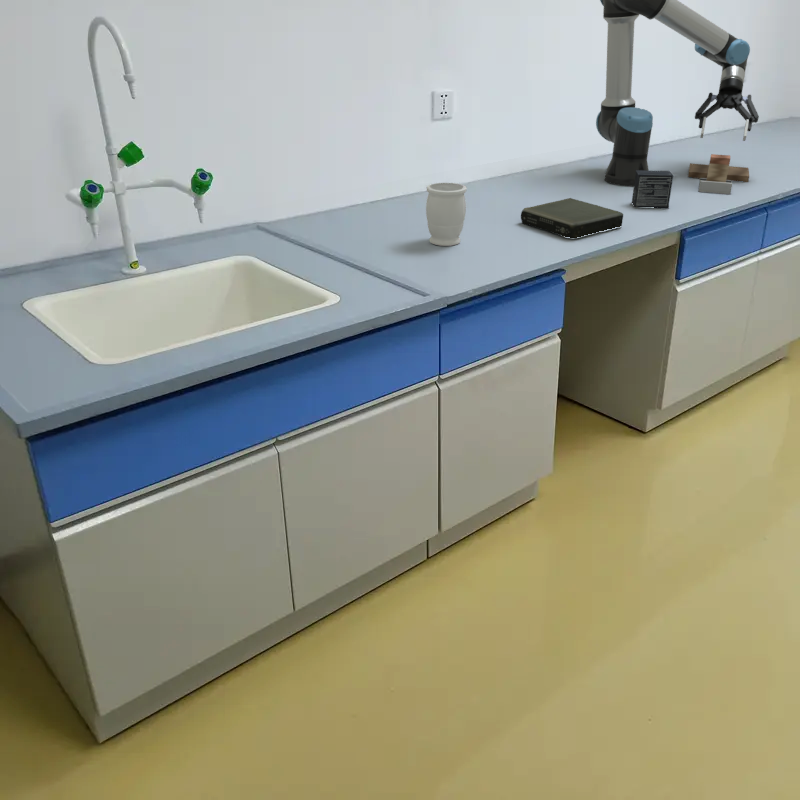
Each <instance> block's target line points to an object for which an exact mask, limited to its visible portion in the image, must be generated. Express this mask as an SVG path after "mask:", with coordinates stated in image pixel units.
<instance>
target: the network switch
mask: <svg viewBox="0 0 800 800" xmlns="http://www.w3.org/2000/svg"><path fill="white" fill-rule="evenodd" d="M623 218H624V213H623V212H620V211H618V210H614V209H611V208H608V207H604V206H600V205H597V204H593V203H590V202H586V201H582V200H579V199H574V198H572V197H570V198H564V199H560V200H556V201H551V202H547V203H543V204H542V203H541V204H538V205H533V206H530V207H524V208H523V209H522V211H521V212H520V220H521V223H522V224H523V225H525V224H526V226H529V227H532V226H533V227H532V228H536V229H540V230H543V231H547V232H550V233H553V234H555V235H558V234H559V236H561V235H562V236H565V237H570V238H577V237H581V236H584V235H588V234H592V233H596V232H599V231H604V230H607V229H612V228H615V227H620V226H623V220H624V219H623ZM562 236H561V237H562Z"/></svg>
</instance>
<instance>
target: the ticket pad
mask: <svg viewBox="0 0 800 800" xmlns="http://www.w3.org/2000/svg"><path fill="white" fill-rule="evenodd" d="M730 163H731V155H729V154H728V155H727V154H714V153H711V155H710V159H709V164H708V165H709V169H708V174H707V180H706V181H715V182H726V179H727V174H728V169H729V166H730Z"/></svg>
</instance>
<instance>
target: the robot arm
mask: <svg viewBox="0 0 800 800" xmlns="http://www.w3.org/2000/svg"><path fill="white" fill-rule="evenodd" d="M599 2H600V3H601V5H602V6H603V13H602V14H603V15H602V17H603V19H604V21H606V23H607V36H606V37H607V39H606V40H607V45H606V71H605V72H606V75H605V76H606V79H605V98H604V99H603V100H602V101H601V103H600V111H599V112H598V114H597V116H596V120H595V126H596V129H597V132H598V134H599V135H600V136H601V137H602V138H603V139H604V140H606V141H608V142H611V143H612V144H613V149H612V155H611V159H610V162H609V164H608V165H607V168H606V171H605V172H604V176H603V177H604V182H607V183H608V184H612V185H616V186H622V187H623V186H625V187H634V181H635V173H636V170H643V171H650V170H649V164H648V156H649V155H648V154H649V147H650V141H651V135H652V130H653V129H652V128H653V127H654V126H653V125H654V124H653V122H654V121H653V118H654V117H653V114H652V113H651V112H650V111H648V109H644V108H639V107H636V100H635V99H634V98H633V97H632V87H633V86H632V85H633V84H632V83H633V65H634V64H633V63H634V61H633V60H634V59H633V58H634V44H635V43H634V40H635V38H634V37H635V22H636V20H637V19H638V18H639V17H640V16H643V17H645V18H646V19H647V20H654V19H655V20H656V21H658V22H660V23H661V24H664V26H667V27H668V28H670V29H671V30H673V31H674V32H676V33H678V34H679V35H681V36H682V37H684V38H686V39H687V40H689V41H690V42H692V43H694V50H695V51H696V53H698V54H699V55H700V56H703V57H704V58H706V59H708V60H710V61H712V62H713V63H715V64H717V65H718V66H720V67H721V68H722V69H721V77H720V83H719V89H718V93H717V94H713V92H709V93H708V96H707V98H706V99H705V100H704V102H703V103H702V104H701V106H699V108H698V109H697V111H696V112H695V114H694V119H695V120H699V124H698V128H699V129H701V130H700V131H701V133H700V139H703V138H704V134H705V128H706V127H705V126H706V121H707V118H708V117H710V116H711V115H713V114H714V113H715V112H716V111H719V110H721V108H722V109H723V110H724V109H725V110H726V109H728V110H733V109H734V110H735V111H736V112H738V113H739V115H741V117H742V118H743V120H745V124H744V131H743V138H742V141H743V142H745V141H746V140H747V136H748V135H747V134H748V132H751V130H752V125H753V123H754V124H756V123H758V121H759V118H760V117H759V114H758V111H757V109H756V107H755V105H754V102H753V101H752V94H748V95H747V96H746V95H745V96H743V88H744V82H745V77H746V69H747V63H748V58H749V56H750V52H751V48H750V44H749V42H748V41H746V40H744V39H742V38H737V37H735V36H734V35H732V34H731V33H729V32H727V31H726V30H724V29H723V28H721V27H720V26H719V25H716V23H714V22H713V21H710V20H709V19H707V18H706V17H704V16H703V15H702V14H699V13H698V12H697V11H695V10H693V9H692V8H690V7H688V6H687V5H685V4H684V3H682V2H681V1H680V0H599ZM714 101H716V102H715V103H713V105H711V106H710V104H711V102H714ZM742 102H744V104H746V107H744V105H743V103H742ZM709 106H710V107H709ZM708 107H709V108H708ZM707 108H708V109H707ZM746 108H747V109H746Z"/></svg>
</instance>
